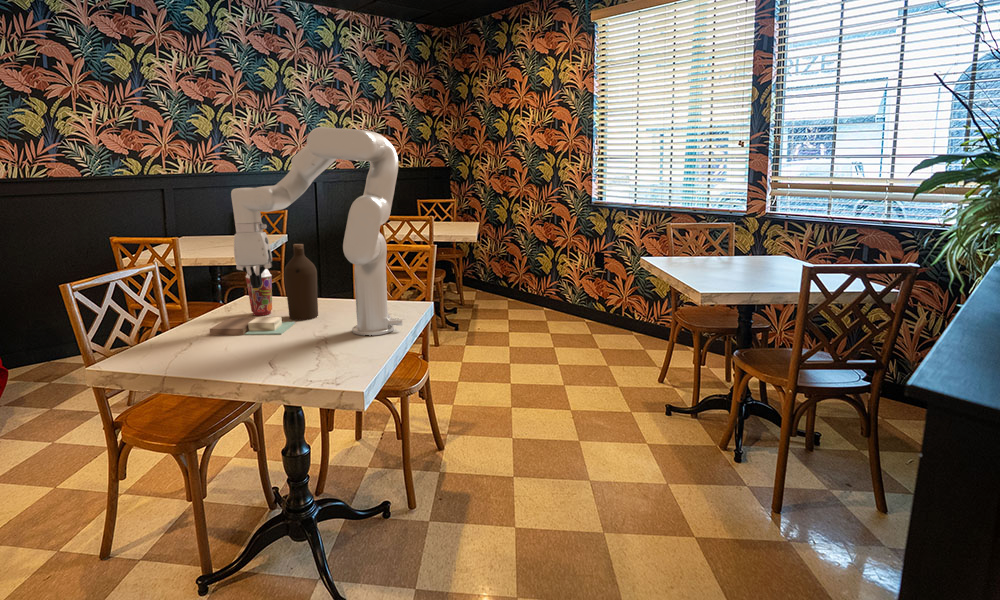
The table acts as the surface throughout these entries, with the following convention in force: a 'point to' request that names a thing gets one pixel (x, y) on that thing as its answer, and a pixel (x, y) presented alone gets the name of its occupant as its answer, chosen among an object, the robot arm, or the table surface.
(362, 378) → the table surface
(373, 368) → the table surface
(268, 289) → the smoothie
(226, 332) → the deck
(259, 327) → the tile
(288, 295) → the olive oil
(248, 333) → the mat
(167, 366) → the table surface
